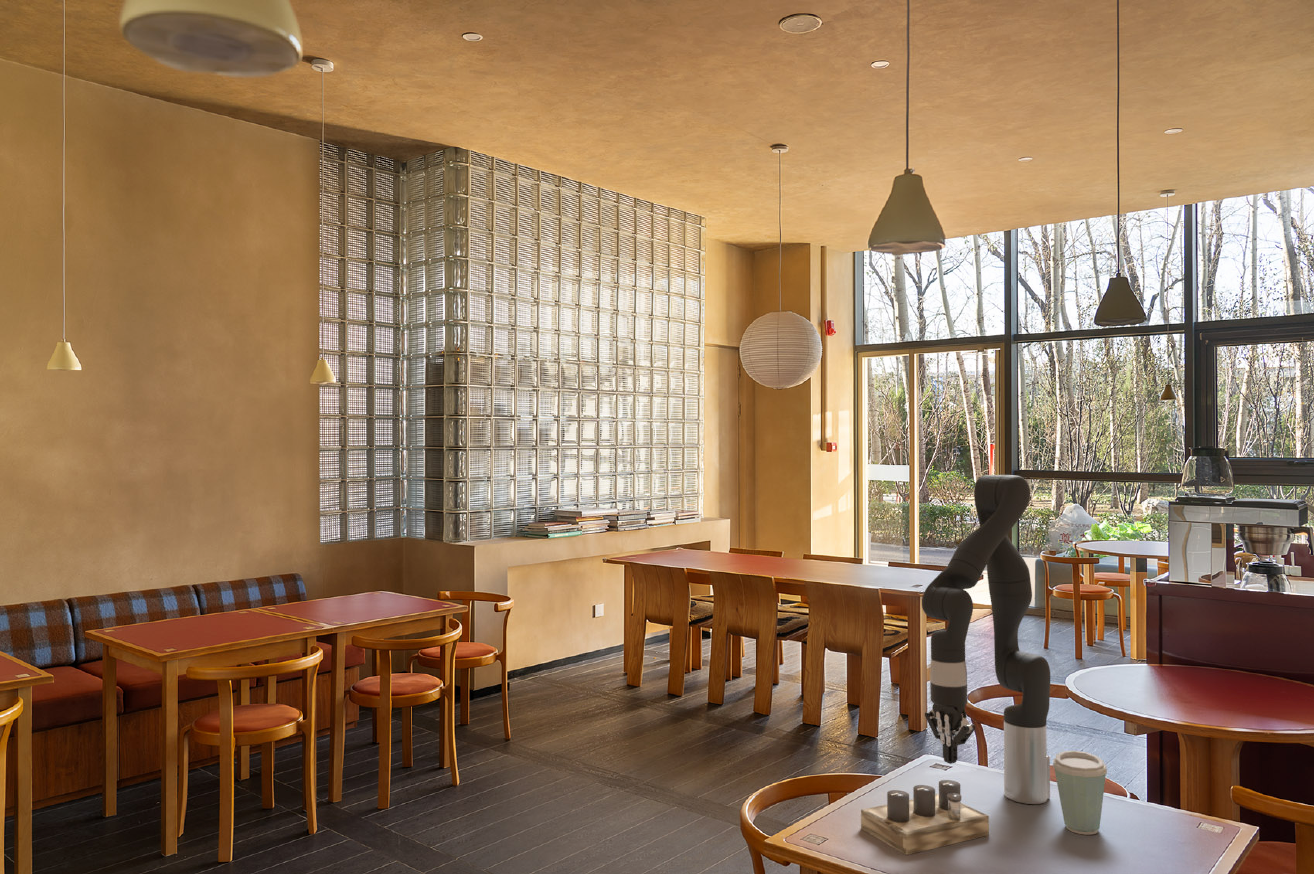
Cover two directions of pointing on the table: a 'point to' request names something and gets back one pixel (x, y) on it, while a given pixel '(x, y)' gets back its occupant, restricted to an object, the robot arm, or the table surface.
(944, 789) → the knob
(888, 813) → the knob
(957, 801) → the capped glass vial
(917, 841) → the mount
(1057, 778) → the disposable coffee cup
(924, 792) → the knob mid
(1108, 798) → the table surface
